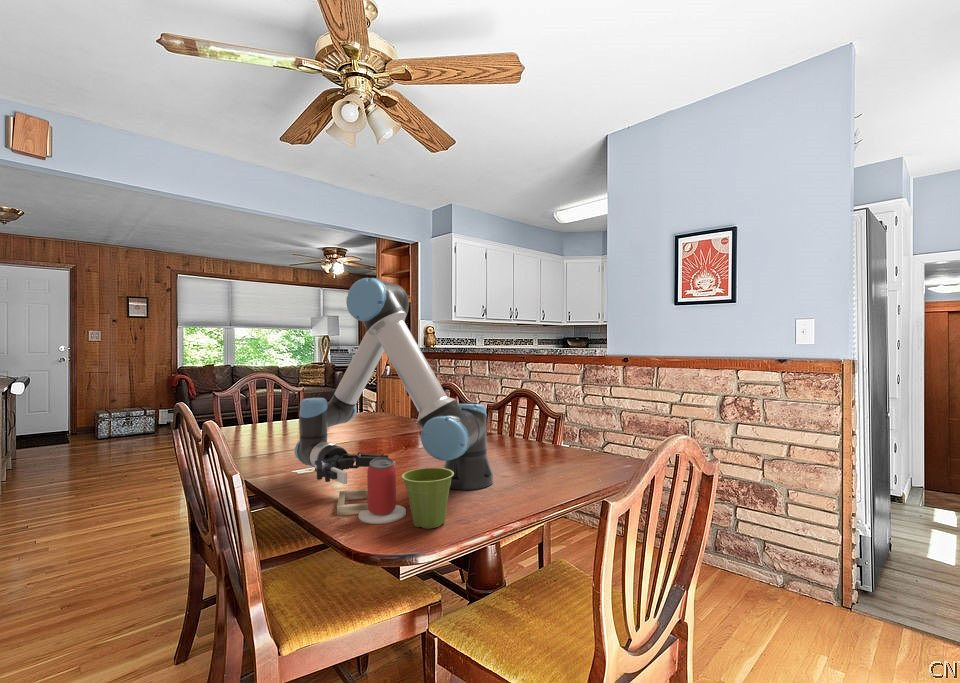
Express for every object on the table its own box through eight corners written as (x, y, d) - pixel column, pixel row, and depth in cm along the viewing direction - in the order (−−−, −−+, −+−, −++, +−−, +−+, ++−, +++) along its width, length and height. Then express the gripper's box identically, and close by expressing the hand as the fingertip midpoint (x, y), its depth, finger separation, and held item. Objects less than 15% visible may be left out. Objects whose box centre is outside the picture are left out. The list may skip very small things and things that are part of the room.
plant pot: (434, 510, 120) (433, 464, 120) (465, 523, 111) (464, 474, 111) (392, 522, 112) (391, 473, 112) (421, 538, 103) (421, 484, 103)
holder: (389, 494, 132) (389, 487, 132) (392, 510, 120) (392, 502, 120) (339, 498, 129) (339, 491, 129) (337, 515, 117) (337, 507, 117)
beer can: (389, 518, 113) (389, 470, 111) (363, 514, 114) (362, 466, 112) (399, 503, 119) (400, 458, 117) (374, 500, 121) (374, 454, 118)
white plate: (403, 505, 123) (403, 502, 123) (407, 521, 113) (407, 517, 113) (358, 509, 121) (358, 506, 121) (358, 525, 110) (358, 522, 110)
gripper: (369, 463, 144) (412, 477, 129) (284, 481, 127) (323, 499, 111) (369, 438, 144) (412, 449, 129) (284, 452, 127) (322, 466, 111)
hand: (371, 472), depth 120 cm, fingers open, 13 cm apart
